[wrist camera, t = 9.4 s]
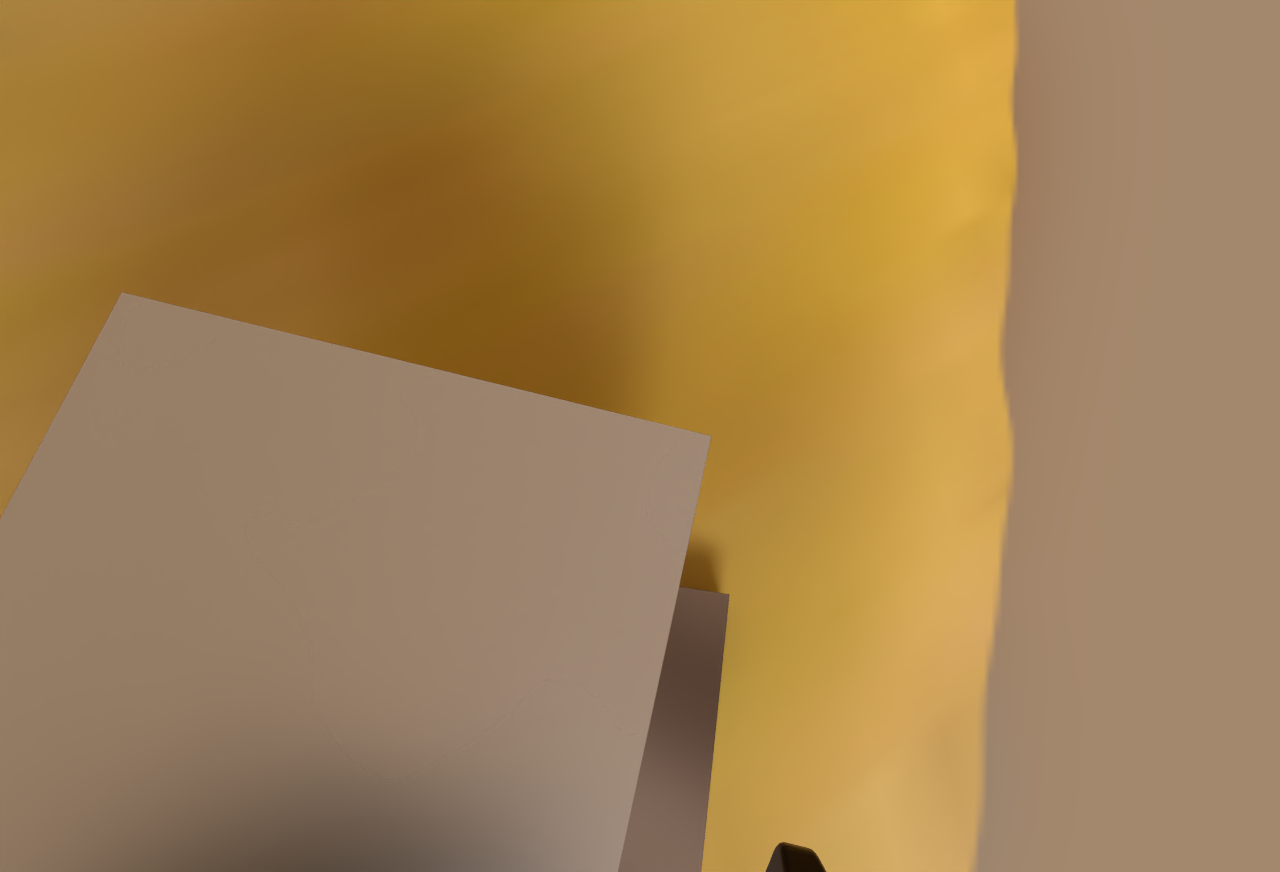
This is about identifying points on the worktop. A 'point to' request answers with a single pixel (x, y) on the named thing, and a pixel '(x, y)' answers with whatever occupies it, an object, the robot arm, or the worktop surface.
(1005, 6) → the worktop surface
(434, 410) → the aluminium block
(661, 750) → the plate
